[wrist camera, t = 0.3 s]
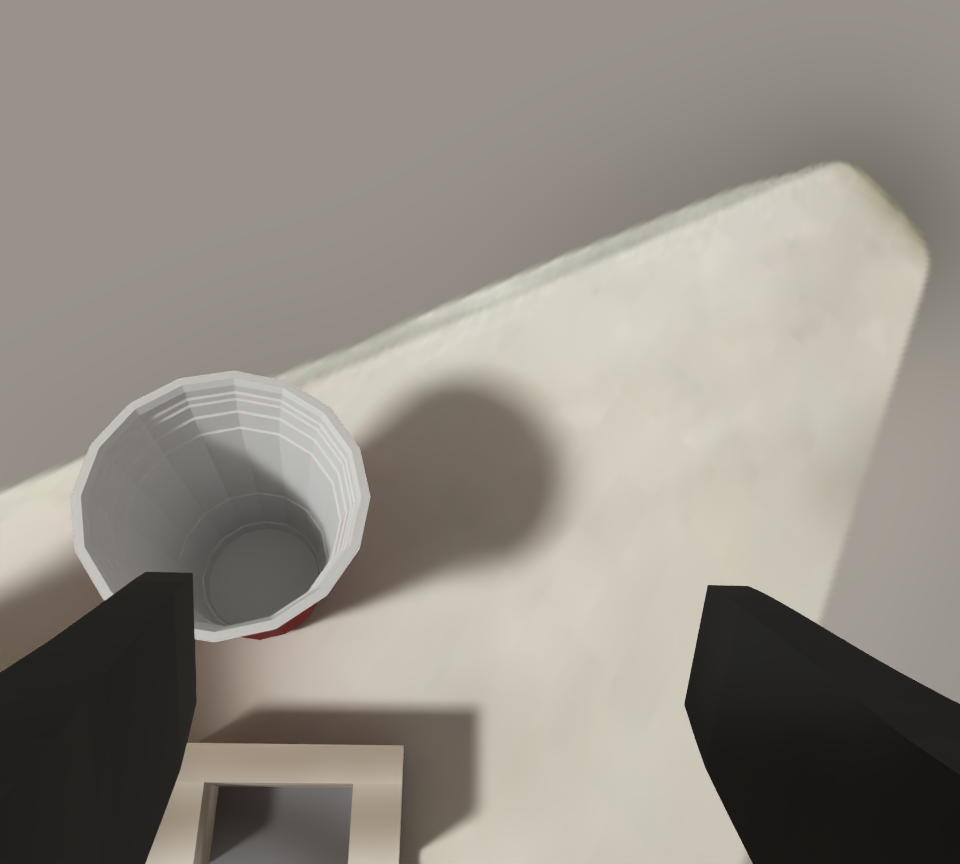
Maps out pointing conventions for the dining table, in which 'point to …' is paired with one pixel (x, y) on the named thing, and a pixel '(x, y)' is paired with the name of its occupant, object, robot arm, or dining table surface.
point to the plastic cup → (224, 500)
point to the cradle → (283, 805)
